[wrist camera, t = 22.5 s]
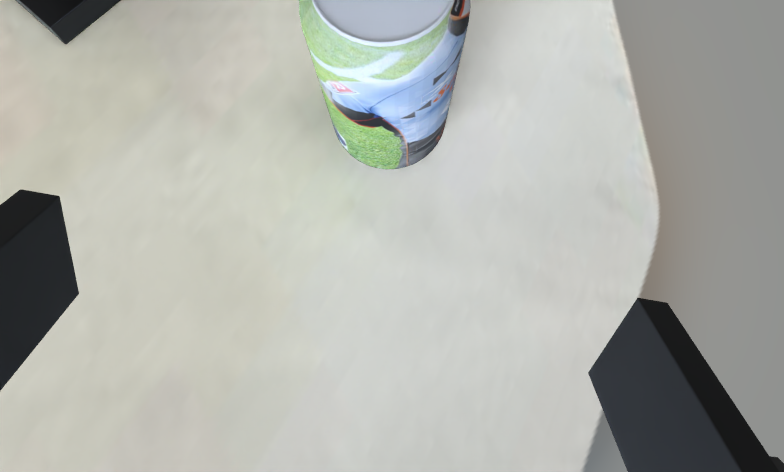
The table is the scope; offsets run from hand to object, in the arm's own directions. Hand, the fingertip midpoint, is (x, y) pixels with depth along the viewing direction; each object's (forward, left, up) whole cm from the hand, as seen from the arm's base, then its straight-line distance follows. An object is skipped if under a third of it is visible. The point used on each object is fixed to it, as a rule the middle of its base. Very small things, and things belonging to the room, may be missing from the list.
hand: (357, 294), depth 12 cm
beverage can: (+5, -9, -14) cm, 18 cm away
